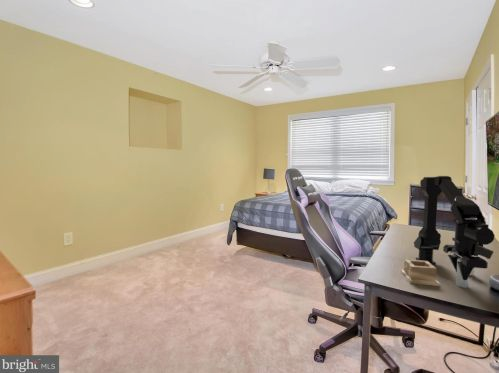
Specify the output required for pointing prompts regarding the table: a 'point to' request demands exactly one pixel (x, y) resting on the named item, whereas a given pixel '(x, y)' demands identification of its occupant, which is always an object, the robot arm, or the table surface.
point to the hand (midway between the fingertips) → (462, 277)
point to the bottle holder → (420, 272)
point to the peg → (460, 277)
